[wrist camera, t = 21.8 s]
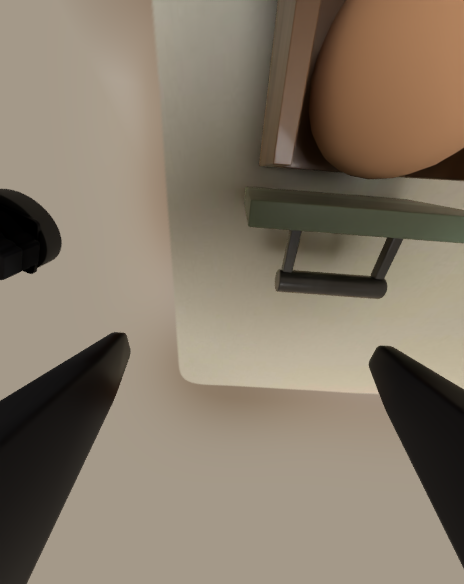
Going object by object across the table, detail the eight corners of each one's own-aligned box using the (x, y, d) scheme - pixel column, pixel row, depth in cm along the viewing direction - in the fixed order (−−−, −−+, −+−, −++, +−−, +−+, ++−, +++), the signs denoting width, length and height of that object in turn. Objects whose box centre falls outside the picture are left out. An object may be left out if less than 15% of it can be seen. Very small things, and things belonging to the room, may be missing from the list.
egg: (302, 9, 11) (451, -355, 3) (454, 3, 10) (989, -401, 3) (285, 177, 14) (337, 187, 7) (397, 175, 14) (573, 183, 7)
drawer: (374, 271, 19) (443, 325, 12) (238, 261, 19) (238, 310, 12) (558, -140, 9) (1316, -868, 3) (277, -169, 9) (378, -1018, 3)
